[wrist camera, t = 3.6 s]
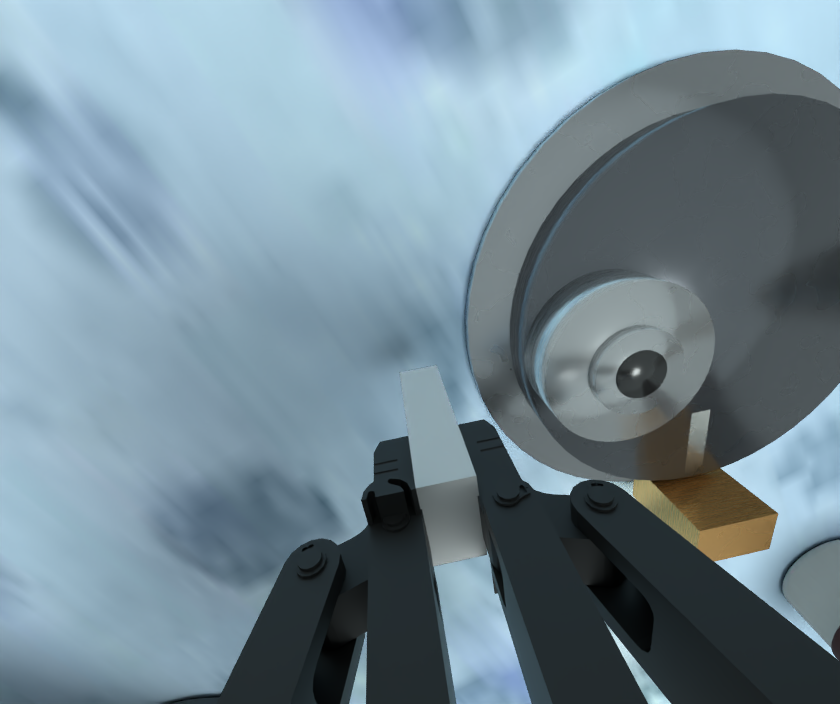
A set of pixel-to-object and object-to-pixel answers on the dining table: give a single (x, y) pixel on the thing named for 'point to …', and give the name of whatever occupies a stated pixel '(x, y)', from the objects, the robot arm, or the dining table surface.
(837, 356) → the turntable
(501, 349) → the turntable base
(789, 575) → the coffee cup
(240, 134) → the dining table surface
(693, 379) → the cover
